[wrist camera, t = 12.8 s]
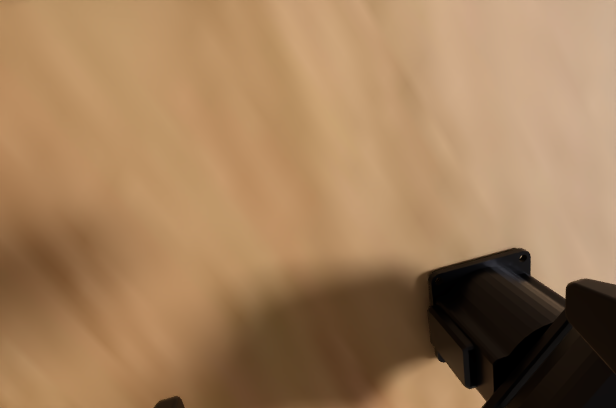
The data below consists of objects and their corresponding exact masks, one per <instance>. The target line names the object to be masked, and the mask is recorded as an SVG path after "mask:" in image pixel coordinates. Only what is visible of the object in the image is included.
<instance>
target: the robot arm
mask: <svg viewBox="0 0 616 408" xmlns="http://www.w3.org/2000/svg"><path fill="white" fill-rule="evenodd" d="M521 256H522V257H521ZM520 257H521V258H520ZM530 265H531V256H530V253H529V252H528V251H526V250H524V249H522V248H518V249H515V250H511V251H507V252H504V253H500V254H496V255H493V256H489V257H485V258H481V259H478V260H474V261H470V262H467V263H463V264H459V265H456V266H452V267H448V268H444V269H441V270H437V271H434V272H432V273H431V274H430V275H429V277H428V284H429V295H430V305H431V306H429V309H428V319H429V329H430V339H431V343H432V344H433V346H434V348H435V355H436V357H437V358H438V360H439V361H440V362H446V363H447V364H448V366H449V367H450V368H451V369H452V371H453V372H454V373H455V375H456V376H457V377H458V379H459V380H460V381H461V383H462V384H463V385H464V386H465V387H466V388H468V389H472V388H476V389H477V390H478V392H479V393H480V394H481V395H482V397H483V398H484V399H485V400H486V403H485V404H484V405H483V406H482V408H616V285H615V284H610V283H605V282H601V281H596V280H591V279H580V280H577V281H573V282H570V283H569V284H568V285H567V287H566V299H565V298H563V297H562V296H560V295H559V294H557V293H556V292H554V291H553V290H551V289H550V288H548V287H547V286H545V285H544V284H542V283H541V282H539V281H538V280H536V279H535V278H533V277H532V276H530ZM437 278H440V279H439V281H437V282H435V280H436V279H437ZM154 408H185V407H184V404H183V402H182V400H181V398H180V397H178V396H174V397H171V398H167V399H164V400H161V401H159V402H158V403H157V404H156V405H155V407H154Z"/></svg>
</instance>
